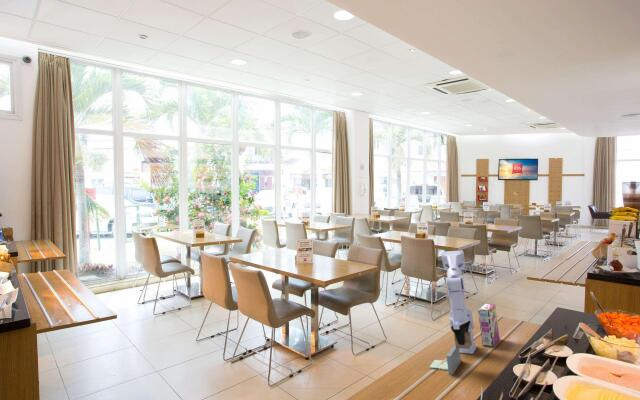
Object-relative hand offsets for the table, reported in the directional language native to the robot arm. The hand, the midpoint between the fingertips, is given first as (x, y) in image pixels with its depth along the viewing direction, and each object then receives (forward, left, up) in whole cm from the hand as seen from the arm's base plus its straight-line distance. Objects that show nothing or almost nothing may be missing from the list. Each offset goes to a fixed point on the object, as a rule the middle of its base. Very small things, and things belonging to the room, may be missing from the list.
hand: (463, 342), depth 149 cm
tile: (0, -10, -10) cm, 14 cm away
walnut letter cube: (0, 0, -2) cm, 2 cm away
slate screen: (0, -4, -10) cm, 11 cm away
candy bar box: (-31, +5, -11) cm, 33 cm away
